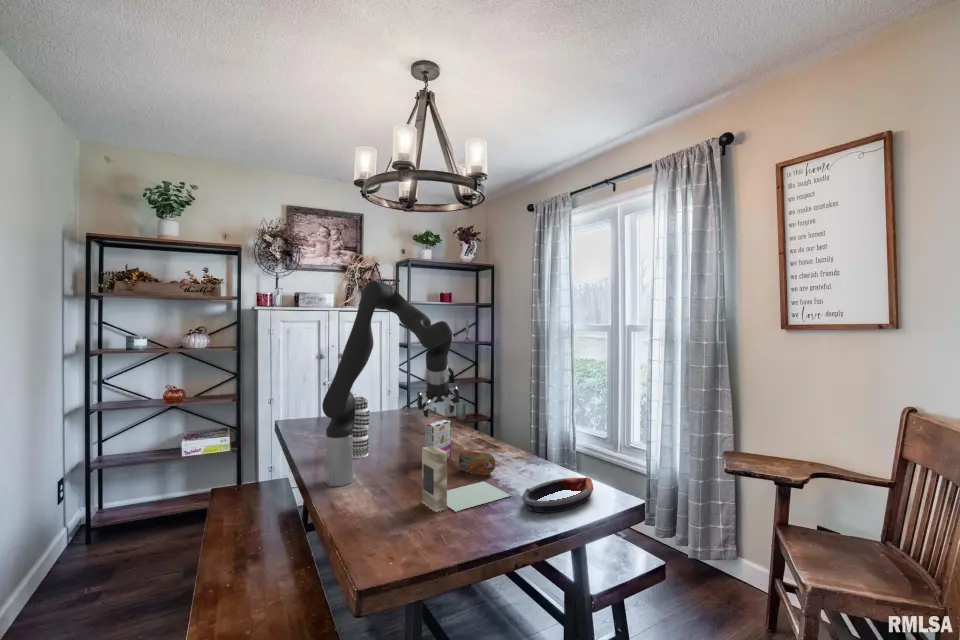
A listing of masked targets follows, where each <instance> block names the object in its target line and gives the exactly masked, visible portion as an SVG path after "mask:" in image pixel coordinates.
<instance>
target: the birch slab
mask: <svg viewBox="0 0 960 640" xmlns="http://www.w3.org/2000/svg"><path fill="white" fill-rule="evenodd" d="M447 490H448V461H447V452H445V451H443V450H441V449H439V448H437V447H435V446H428V447H425V446H424V447H421V503H422V504H423V505H424V504H425V505H424V506H426V507H427V506H428V507H429V508H428V507H427V508H428V509H430V510H431V509H432V510H431V511H433V512H434V511H435V512H437V513H439V512H438V511H440V512H442V511H441V510H444V509H448V507H447ZM444 511H445V510H444ZM435 512H434V513H435Z"/></svg>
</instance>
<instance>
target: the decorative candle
mask: <svg viewBox="0 0 960 640" xmlns="http://www.w3.org/2000/svg"><path fill="white" fill-rule="evenodd" d="M354 398H355V405H356V407H355V425H354V428H353V459H362V458H361V457H364V458H367V457H368V456H369V455H368V454H370V453H369V452H370V450H369V448H370V446H369V443H370V442H369V440H370V439H369V434H368V433H369V432H368V429H369V425H370V423H369V421H370V418H368V417H370V414H369V413H370V412H371V411H370V410H369V407H368V402H369V400H368V399H367V398H366V397H365V396H354ZM366 456H367V457H366Z"/></svg>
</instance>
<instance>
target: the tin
mask: <svg viewBox="0 0 960 640" xmlns="http://www.w3.org/2000/svg"><path fill="white" fill-rule="evenodd" d="M458 464H459V467H460V468H461V470H462V471H463V472H465V471H467V472H466V473H468V472H472V473H471V474H474V473H478V474H477V475H479V474H483V475H482V476H488V475H491V473H493V472H494V470H495V469H496V460H495V457H494V455H492V454H491V453H490V452H486V451H482V450H481V451H479V450H474V449H473V450H472V449H468V450H464V451H462V452H461V453H460V455H459V457H458Z"/></svg>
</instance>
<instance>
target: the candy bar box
mask: <svg viewBox="0 0 960 640" xmlns="http://www.w3.org/2000/svg"><path fill="white" fill-rule="evenodd" d="M451 423H452V422H451V420H447V419H440V420H436V421H434V422H433V421H432V422H430V423H426V424H424V447H428V446H435V447H437V448H439V449H441V450H443V451H445V452H447V460H448V461H450V460H452V439H451V437H452V434H451V432H452V431H451V430H452V428H451V427H452V425H451Z"/></svg>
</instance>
